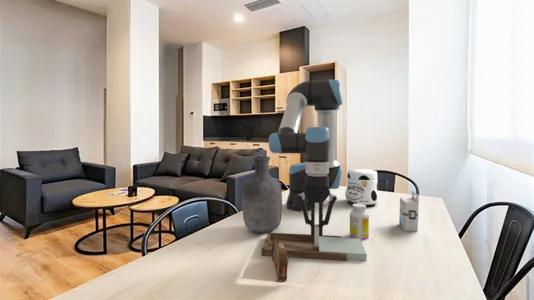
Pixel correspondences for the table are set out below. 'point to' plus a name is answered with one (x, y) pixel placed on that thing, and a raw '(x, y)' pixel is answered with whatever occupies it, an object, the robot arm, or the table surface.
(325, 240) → the cover plate
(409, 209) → the ink box
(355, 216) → the supplement bottle
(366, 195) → the milk container
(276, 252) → the tin
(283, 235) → the walnut case
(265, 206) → the vase
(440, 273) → the table surface
